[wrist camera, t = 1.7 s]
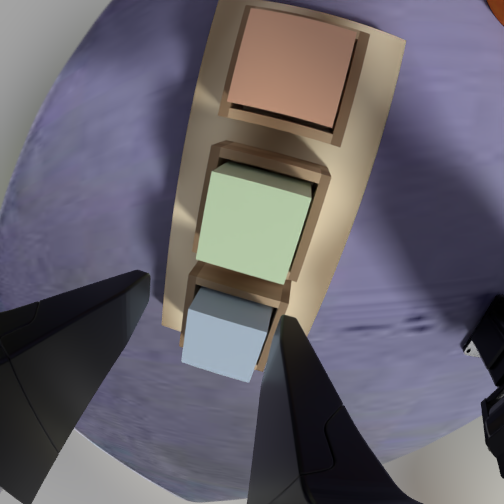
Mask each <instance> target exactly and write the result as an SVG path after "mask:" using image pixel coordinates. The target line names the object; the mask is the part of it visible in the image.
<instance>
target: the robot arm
mask: <svg viewBox="0 0 504 504" xmlns="http://www.w3.org/2000/svg"><path fill="white" fill-rule="evenodd" d="M149 295H150V275H149V273H146V272H143V271H140V270H134V271H131V272H128V273H124V274H121V275H118V276H115V277H112V278H109V279H105V280H102V281H99V282H96V283H93V284H90V285H87V286H83V287H80V288H77V289H74V290H71V291H68V292H65V293H62V294H59V295H56V296H53V297H49V298H46V299H43V300H40V302H38V301H37V302H34V303H31V304H28V305H25V306H22V307H18V308H15V309H12V310H8V311H4V312H0V492H1V491H2V489H4V490H5V491H7V492H8V493H9V494H11V495H12V496H13V497H14V498H16V499H17V500H19V501H20V502H21V503H23V504H31V503H32V502H33V500H34V498H35V496H36V494H37V492H38V490H39V489H40V487H41V484H42V483H43V481H44V479H45V478H46V476H47V474H48V472H49V470H50V469H51V467H52V465H53V463H54V462H55V460H56V458H57V456H58V453H59V452H60V450H61V449H62V447H63V446H64V444H65V442H66V440H67V439H68V437H69V435H70V434H71V432H72V430H73V429H74V427H75V425H76V424H77V422H78V420H79V419H80V417H81V415H82V414H83V412H84V411H85V409H86V407H87V406H88V404H89V402H90V401H91V399H92V398H93V396H94V394H95V393H96V391H97V390H98V388H99V386H100V385H101V383H102V382H103V380H104V379H105V377H106V375H107V374H108V372H109V371H110V369H111V368H112V366H113V365H114V363H115V362H116V360H117V358H118V357H119V355H120V354H121V352H122V351H123V349H124V348H125V346H126V345H127V343H128V341H129V339H130V337H131V335H132V333H133V331H134V329H135V327H136V325H137V323H138V321H139V319H140V317H141V316H142V314H143V312H144V310H145V308H146V306H147V304H148V301H149ZM499 300H500V301H499ZM463 352H464V354H465V355H469V356H474V357H480V358H481V359H482V361H483V363H484V365H485V367H486V368H487V369H488V371H489V373H490V375H491V377H492V380H493V382H494V384H495V386H497V387H498V388H497V389H496V390H495V391H494V392H493V393H492V394H491V395H490V396H489V397H488V398H487V399H486V398H485V399H484V400H483V401H482V402H481V408H482V417H483V424H484V433H485V442H486V445H487V446H488V449H489V451H491V453H492V454H493V455H494V456H495V457H496V458H497V462H498V465H499V469H500V474H501V477H502V478H504V295H501V294H499V295H497V296H496V297H495V299H494V301H493V302H492V304H491V306H490V307H489V309H488V311H487V312H486V314H485V316H484V317H483V319H482V321H481V322H480V324H479V325H478V327H477V328H476V330H475V331H474V333H473V335H472V336H471V338H470V339H469V340H468V342H467V343H466V345H465V346H464V348H463ZM247 504H423V503H420V502H418V501H416V500H414V499H412V498H410V497H409V496H407V495H406V494H405V493H403V492H402V491H401V490H400V489H399V488H398V486H397V485H396V484H395V483H394V481H393V480H392V478H391V477H390V476H389V474H388V473H387V471H386V470H385V469H384V467H383V466H382V464H381V463H380V462H379V460H378V459H377V457H376V456H375V455H374V453H373V452H372V450H371V449H370V448H369V446H368V445H367V443H366V441H365V440H364V438H363V437H362V435H361V434H360V432H359V431H358V429H357V427H356V426H355V424H354V422H353V421H352V419H351V417H350V415H349V413H348V412H347V410H346V408H345V406H344V405H343V403H342V401H341V399H340V397H339V395H338V393H337V392H336V390H335V388H334V386H333V384H332V382H331V380H330V379H329V377H328V375H327V373H326V371H325V369H324V368H323V366H322V364H321V362H320V360H319V358H318V357H317V355H316V353H315V351H314V349H313V347H312V346H311V344H310V342H309V340H308V338H307V336H306V335H305V333H304V331H303V329H302V327H301V325H300V324H299V322H298V320H297V319H296V318H295V317H292V316H288V315H285V314H283V315H282V316H281V317H280V320H279V323H278V325H277V328H276V331H275V333H274V336H273V339H272V343H271V347H270V351H269V355H268V359H267V364H266V368H265V372H264V376H263V380H262V384H261V390H260V398H259V407H258V416H257V425H256V434H255V442H254V451H253V459H252V467H251V475H250V483H249V491H248V500H247Z"/></svg>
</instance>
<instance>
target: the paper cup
mask: <svg viewBox="0 0 504 504" xmlns="http://www.w3.org/2000/svg"><path fill="white" fill-rule="evenodd" d="M487 3H488V5H489V7H490V9H491V10H492V12H493V14H494V15H495V17H496V18H497V19H498V20H499V22H500V23H501V24H502V25H503V26H504V0H487Z"/></svg>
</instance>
